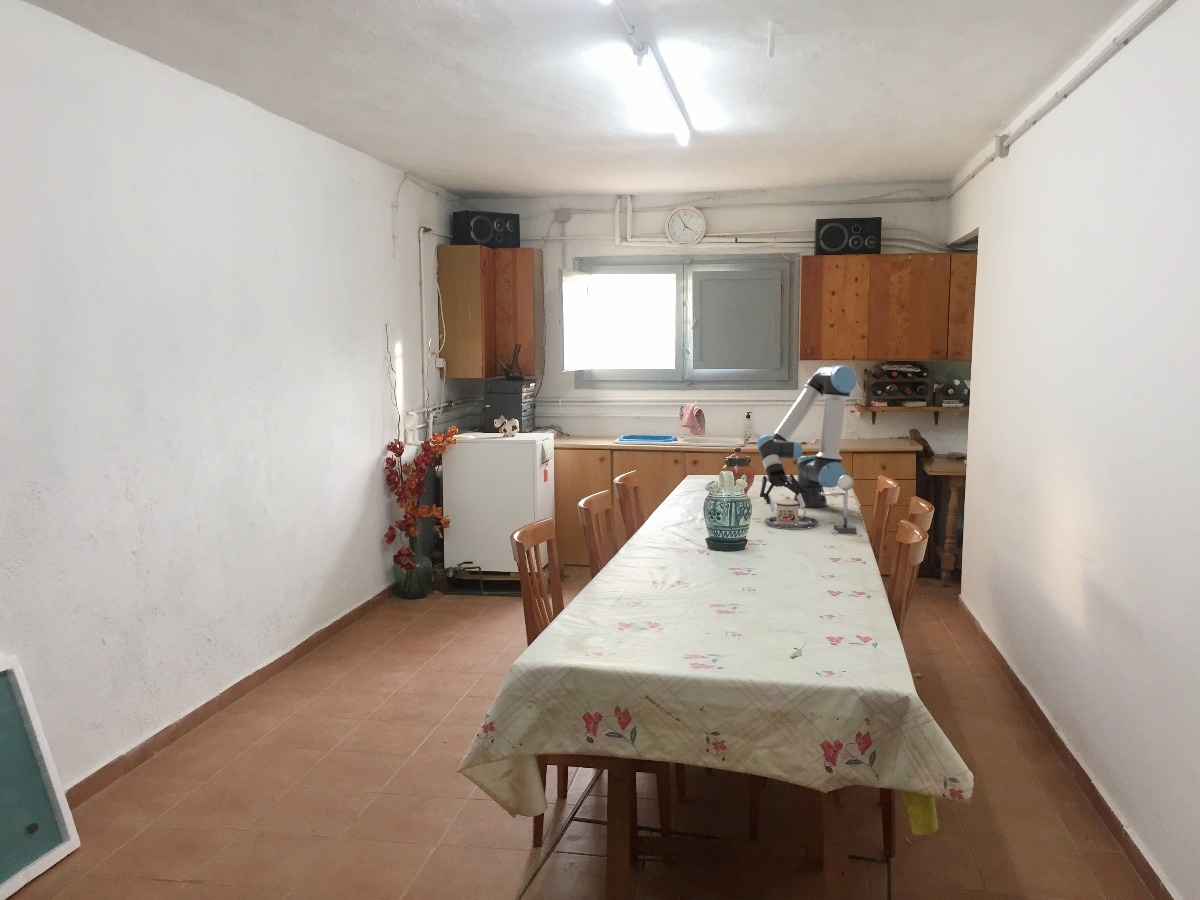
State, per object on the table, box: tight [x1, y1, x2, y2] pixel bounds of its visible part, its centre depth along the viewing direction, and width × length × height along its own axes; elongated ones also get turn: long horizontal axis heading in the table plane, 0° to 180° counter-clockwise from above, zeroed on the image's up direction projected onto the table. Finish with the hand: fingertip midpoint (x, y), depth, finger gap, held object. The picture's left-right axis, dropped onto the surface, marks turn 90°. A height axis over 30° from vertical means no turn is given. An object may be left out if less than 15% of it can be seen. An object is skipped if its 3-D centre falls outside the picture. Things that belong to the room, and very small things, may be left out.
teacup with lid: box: [776, 495, 807, 525], centre depth 373 cm, size 12×9×12 cm
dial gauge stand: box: [819, 474, 857, 534], centre depth 357 cm, size 14×7×22 cm, turn 90°
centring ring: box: [764, 515, 819, 529], centre depth 374 cm, size 21×21×2 cm
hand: (788, 508), depth 375 cm, fingers open, 13 cm apart
